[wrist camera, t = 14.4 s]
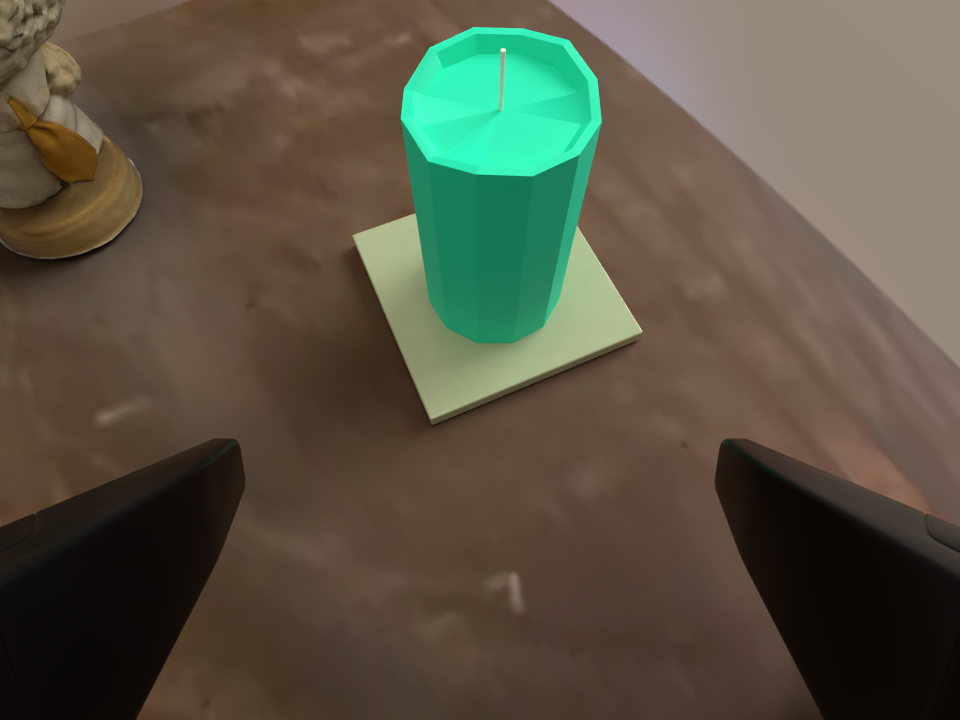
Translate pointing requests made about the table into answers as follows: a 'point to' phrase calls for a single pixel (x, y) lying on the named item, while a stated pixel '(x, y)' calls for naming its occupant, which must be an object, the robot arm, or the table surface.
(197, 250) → the table surface
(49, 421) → the table surface
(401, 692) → the table surface
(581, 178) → the candle
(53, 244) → the figurine
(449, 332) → the tile
